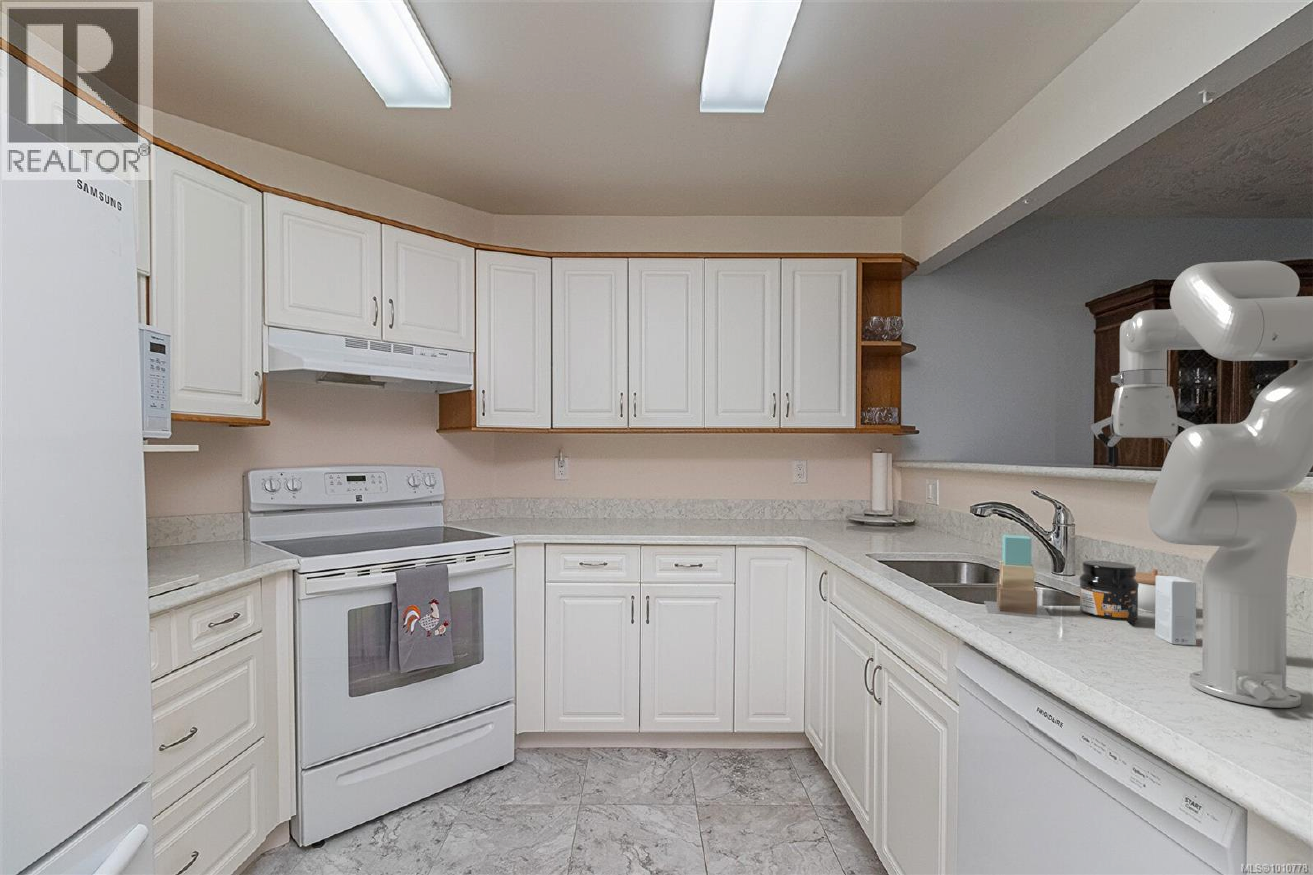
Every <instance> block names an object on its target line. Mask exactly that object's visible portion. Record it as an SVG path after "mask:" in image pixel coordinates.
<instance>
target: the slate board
mask: <svg viewBox="0 0 1313 875" xmlns="http://www.w3.org/2000/svg"><path fill="white" fill-rule="evenodd" d="M983 603H984V606H985V608H986V610H987V613H988V614H995V615H1005V616H1014V617H1015V616H1016V617H1024V618H1035V619H1045V620H1053V618H1052V616H1051V615H1050V614H1049V612H1048V611H1047V609H1046V608H1045V607H1044V606H1043V605H1037V615H1033V614H1022V613H1012V612H1001V611H1000V610H999V608H998V606H997V601H990V600H983Z"/></svg>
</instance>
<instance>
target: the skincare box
mask: <svg viewBox="0 0 1313 875" xmlns="http://www.w3.org/2000/svg"><path fill="white" fill-rule="evenodd" d="M1154 615H1155V617H1154V619H1155V621H1154V624H1155V625H1154V627H1155V628H1154V636H1156V637H1157V638H1159V639H1161V640H1163V641H1166V642H1168V643H1170V644H1171V645H1179V646H1180V645H1183V646H1196V645H1197V582H1196V581H1192V580H1189V579H1186V578H1184V577H1180V576H1173V575H1170V576H1158V575H1157V576H1156V592H1155V613H1154Z"/></svg>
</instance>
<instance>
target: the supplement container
mask: <svg viewBox="0 0 1313 875" xmlns="http://www.w3.org/2000/svg"><path fill="white" fill-rule="evenodd" d="M1081 565H1082V566H1081V570H1082V571H1083V573H1082V574H1081V575H1080V576H1079V612H1080V613H1081V614H1083V615H1086V616H1089V617H1093V618H1099V619H1103V620H1110V621H1119V622H1120V621H1125V622H1126V623H1127V624H1129V625H1131V626H1132V625H1134V624H1136V623H1138V621H1139V609H1138V587H1139V583H1138V582H1137V581H1136V579H1135V578H1134V577H1135V576H1136V572H1137V568H1136V566H1135V565H1132V564H1129V563H1126V562H1125V563H1124V562H1117V561H1109V560H1092V559H1091V560H1084V561H1082V564H1081Z"/></svg>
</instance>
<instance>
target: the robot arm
mask: <svg viewBox="0 0 1313 875" xmlns="http://www.w3.org/2000/svg"><path fill="white" fill-rule="evenodd" d="M1300 286H1301V285H1300V278H1299V276H1298V274H1297V273H1296V271H1294V270H1293V268H1291V267H1290V266H1288V265H1286V264H1283V263H1281V262H1277V261H1273V260H1242V261H1241V260H1239V261H1220V262H1217V261H1216V262H1215V261H1214V262H1203V263H1197V264H1194V265H1192V266H1190V267H1188V268H1186V269H1185V270H1183V271H1182V272H1181V273H1180V274H1179V275H1178V276H1177V277H1176V279H1175V281H1173V285H1172V286H1171V288H1170V289H1171V290H1170V293H1169V294H1170V295H1169V304H1170V308H1169V309H1147V310H1146V309H1145V310H1142V311H1139V312H1137V313H1136V314H1134V315H1133V317H1132V318H1131V319H1127V320H1125V321H1123V322H1122V323H1121V324H1120V327H1119V373H1118V374H1115V375H1111V376H1110V382H1111V383H1115V384H1117V385H1118V386H1119V387H1117V388H1115V391H1114V393H1113V394H1114V396H1113V400H1112V408H1111V416H1108V417H1107V418H1105V419H1102V420H1100V421H1097V422H1096V423H1093V424H1091V425H1090V429H1091V431H1092V432H1093V434H1094V435H1095V437H1096V439H1097V440H1098V441H1099V442H1100V443H1102V445H1104V446H1105V447H1106V453H1105V455H1106V456H1105V457H1106V463H1108V464H1109V467H1110V468H1117V467H1118V465H1119V460H1118V459H1119V448H1118V447H1117V444H1118V442H1119V441H1121V439H1122V438H1124V439H1127V438H1128V439H1129V438H1130V439H1131V438H1132V439H1133V438H1134V439H1135V438H1137V439H1139V438H1140V439H1146V438H1147V439H1155V438H1156V439H1160V438H1161V439H1163V440H1164V441H1165V442H1166V443H1168V445H1169V447H1168V448H1167V450H1166V452H1167V453H1166V454H1167V455H1166V457H1165V459H1164V462H1163V465H1162V467H1161V471H1160V472H1159V476H1158V478H1157V482H1156V484H1155V486H1154V489H1153V491H1152V494H1151V497H1150V501H1149V506H1148V513H1147V518H1148V524H1149V527H1150V529H1151V531H1152V533H1153V534H1154V535H1155V536H1156V537H1157V538H1159V540H1162V541H1164V542H1166V543H1171V544H1174V545H1175V544H1176V545H1187V546H1207V547H1209V546H1211V547H1213V546H1214V547H1218V548H1217V549H1216V551H1215V552H1214V553H1213V554H1212V556H1211V557H1210V558H1209V560H1208V561H1207V563H1206V564H1205V567H1204V570H1203V574H1202V670H1198V671H1193V672H1191V673H1190V674H1189V683H1190V684H1191V685H1192V686H1193V687H1194V688H1196V689H1198V690H1199V691H1201V692H1204V693H1206V694H1209V695H1211V696H1215V697H1216V698H1217V697H1218V698H1220V699H1225V700H1228V701H1233V702H1235V703H1241V704H1245V705H1252V706H1256V707H1263V708H1265V707H1266V708H1275V709H1277V708H1278V709H1290V708H1296V707H1298V706H1300V705H1301V704H1302V695H1301V694H1300V693H1299V692H1297V691H1296V690H1294V689H1293V688H1291V687H1289V686H1287V598H1288V597H1287V595H1288V589H1287V588H1288V586H1287V585H1288V565H1289V556H1290V552H1291V546H1292V542H1293V538H1294V534H1295V531H1296V526H1297V521H1298V520H1297V517H1298V516H1297V509H1296V506H1295V504H1294V503H1293V501H1292V499H1291V498H1290V497H1289V496H1288V495H1287V494H1285V493H1284V492H1282V491H1281V490H1287V489H1292V488H1294V487H1296V486H1298V485H1300V484H1301V483H1302V482H1303V481H1304V480H1305V479H1306V477H1307V475H1308V474H1309V472H1310V471H1311V469H1312V468H1313V295H1312V296H1311V295H1310V296H1307V295H1306V296H1298V294H1299V291H1300ZM1174 350H1175V351H1176V350H1177V351H1183V350H1187V351H1188V350H1190V351H1191V350H1193V351H1194V350H1203V351H1205V352H1206V353H1208V354H1209V355H1211V357H1213V358H1216V359H1219V360H1222V361H1231V362H1241V361H1242V362H1243V361H1244V362H1246V361H1247V362H1248V361H1249V362H1250V361H1252V362H1253V361H1259V362H1260V361H1297V363H1296V364H1295V365H1294V366H1293V367H1291V368H1289V369H1288V370H1287V371H1284V372H1283V373H1281V374H1280V375H1279V376H1277V377H1276V378H1274V379H1273V380H1272V381H1271V382H1270V383H1269V384H1268V385H1266V386H1265V387H1264V388H1263V389H1262V390H1261V391H1260V392H1259V394H1258V395H1257V397H1256V399H1255V401H1254V403H1253V406H1252V408H1251V410H1250V412H1249V414H1248V416H1247V417H1246V418H1245V419H1244V420H1243V421H1240V422H1238V423H1207V424H1206V423H1205V424H1195V423H1193V422H1192V421H1191V422H1190V421H1188V420H1186V419H1184V418H1181V417H1179V416H1178V413H1177V405H1176V404H1177V403H1176V398H1175V393H1174V389H1173V387H1172V386H1168V384H1167V383H1168V379H1167V378H1168V376H1167V375H1168V374H1167V373H1168V371H1167V370H1168V351H1174ZM1107 426H1110V433H1111V435H1110V436H1107V435H1106V434H1104V432H1103V430H1102V429H1103V428H1104V427H1107ZM1179 427H1182V428H1183V429H1184V430H1183V431H1181V432H1180V433H1179V434H1178V430H1179ZM1177 434H1178V435H1177ZM1176 435H1177V436H1176Z"/></svg>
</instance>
